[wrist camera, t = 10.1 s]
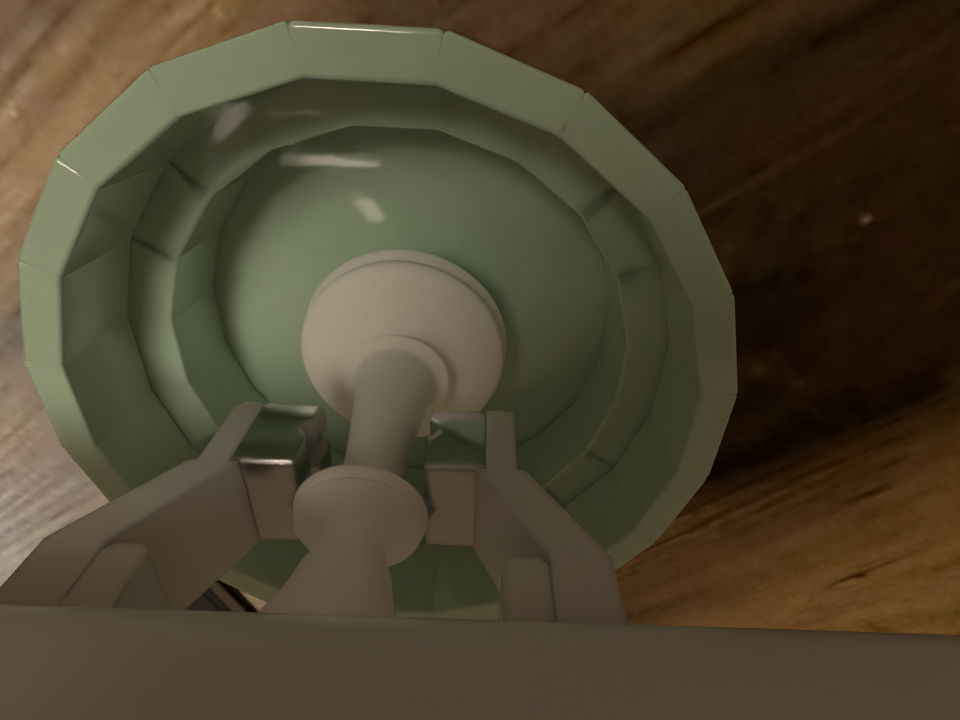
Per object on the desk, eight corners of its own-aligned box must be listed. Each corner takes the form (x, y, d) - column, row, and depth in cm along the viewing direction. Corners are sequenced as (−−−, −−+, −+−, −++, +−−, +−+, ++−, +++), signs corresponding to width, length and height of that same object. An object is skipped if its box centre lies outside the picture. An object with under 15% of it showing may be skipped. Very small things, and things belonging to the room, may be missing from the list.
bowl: (329, -144, 10) (211, -276, 6) (768, 278, 14) (888, 383, 10) (91, 342, 16) (-59, 458, 11) (459, 544, 20) (451, 685, 15)
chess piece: (264, 298, 13) (-194, 839, 4) (452, 212, 12) (353, 709, 3) (370, 446, 15) (215, 991, 6) (536, 386, 14) (612, 947, 5)
